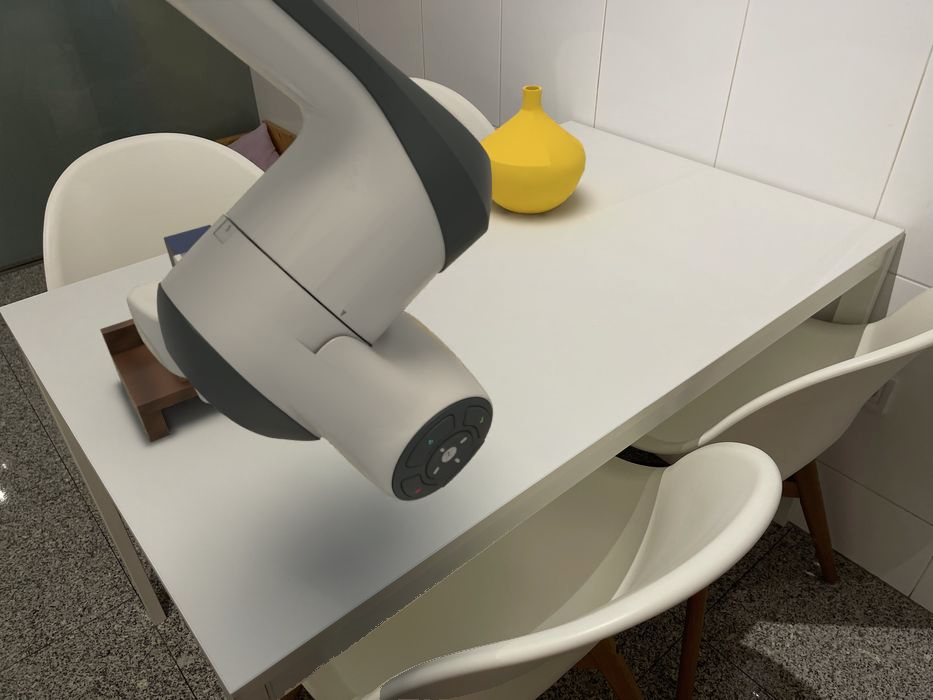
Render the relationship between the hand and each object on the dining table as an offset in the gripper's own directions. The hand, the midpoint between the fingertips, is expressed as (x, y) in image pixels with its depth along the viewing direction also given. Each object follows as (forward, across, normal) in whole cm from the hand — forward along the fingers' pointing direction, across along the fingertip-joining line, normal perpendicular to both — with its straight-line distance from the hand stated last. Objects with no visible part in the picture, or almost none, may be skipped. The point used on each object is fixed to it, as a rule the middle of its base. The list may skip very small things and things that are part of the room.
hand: (242, 244), depth 56 cm
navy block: (+18, 0, +20) cm, 27 cm away
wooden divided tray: (+18, 0, +25) cm, 31 cm away
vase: (+34, -59, +25) cm, 73 cm away
